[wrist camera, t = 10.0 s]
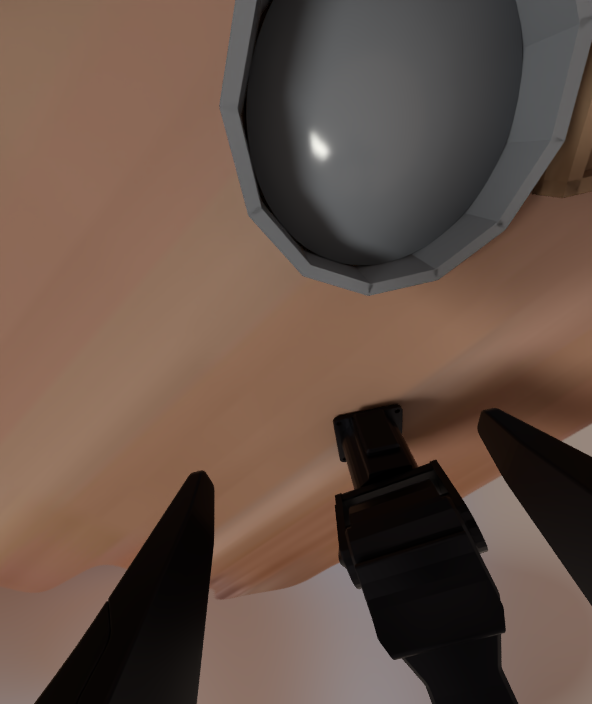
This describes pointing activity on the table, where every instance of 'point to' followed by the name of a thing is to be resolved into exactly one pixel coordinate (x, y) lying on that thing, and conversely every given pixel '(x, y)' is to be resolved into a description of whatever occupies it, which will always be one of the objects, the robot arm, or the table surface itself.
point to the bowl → (397, 126)
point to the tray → (573, 148)
